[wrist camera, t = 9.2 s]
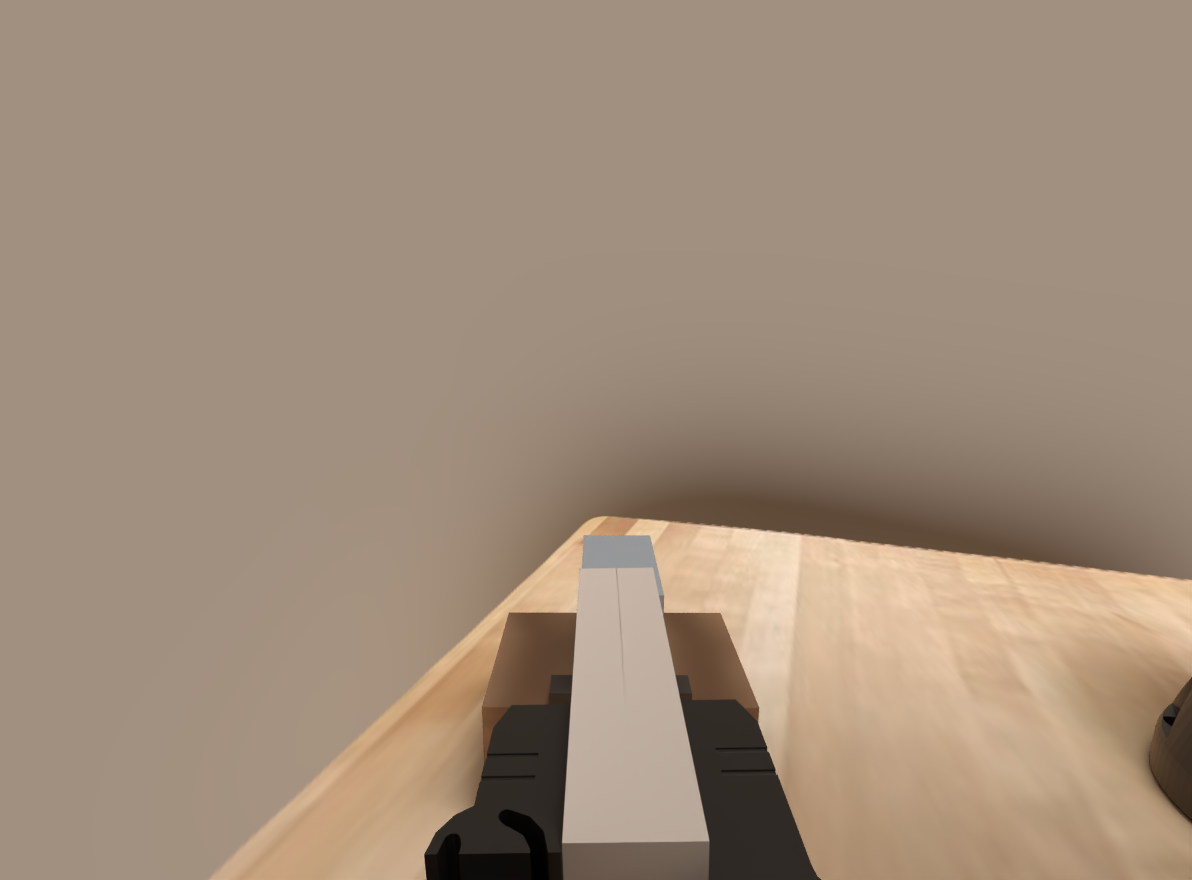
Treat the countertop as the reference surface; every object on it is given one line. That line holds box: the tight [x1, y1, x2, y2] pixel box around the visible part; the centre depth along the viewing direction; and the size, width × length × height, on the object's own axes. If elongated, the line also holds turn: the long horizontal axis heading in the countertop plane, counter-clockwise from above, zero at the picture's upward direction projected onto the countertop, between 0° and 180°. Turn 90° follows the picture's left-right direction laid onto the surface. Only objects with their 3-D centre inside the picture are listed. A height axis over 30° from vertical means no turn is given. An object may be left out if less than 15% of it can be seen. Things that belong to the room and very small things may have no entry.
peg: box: [582, 535, 664, 616], centre depth 35 cm, size 4×8×13 cm, turn 0°
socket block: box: [482, 613, 759, 763], centre depth 37 cm, size 14×10×8 cm
